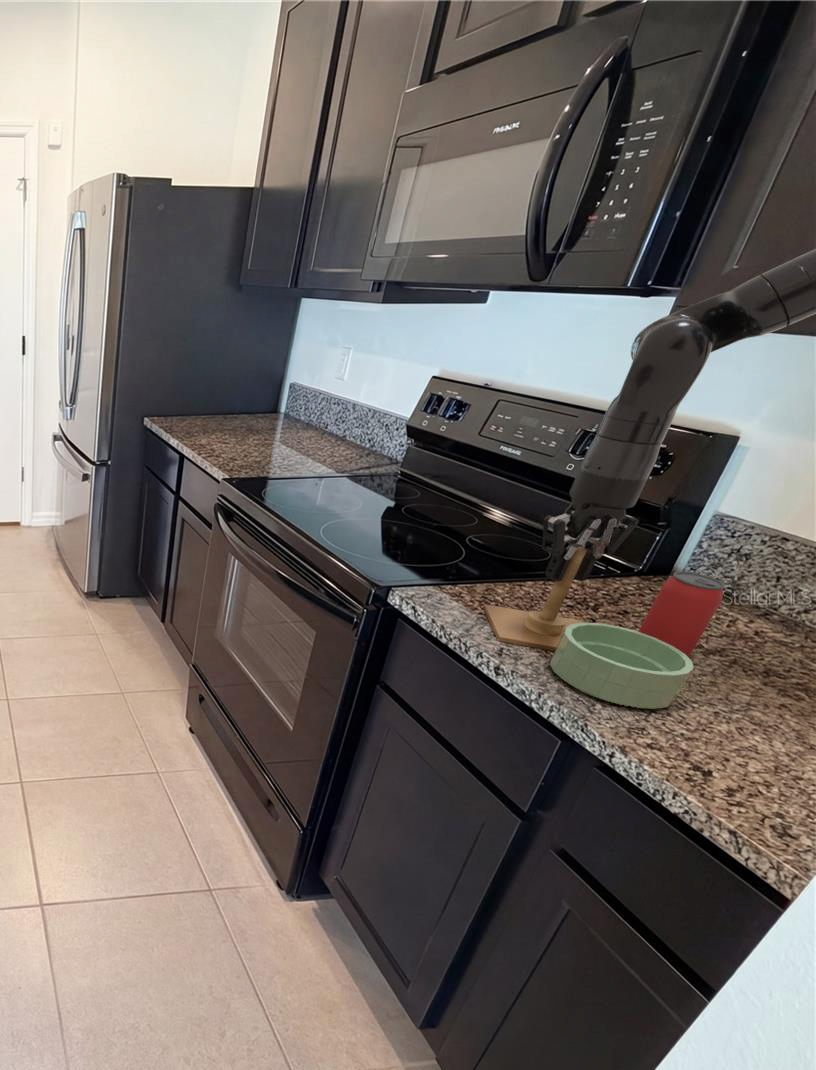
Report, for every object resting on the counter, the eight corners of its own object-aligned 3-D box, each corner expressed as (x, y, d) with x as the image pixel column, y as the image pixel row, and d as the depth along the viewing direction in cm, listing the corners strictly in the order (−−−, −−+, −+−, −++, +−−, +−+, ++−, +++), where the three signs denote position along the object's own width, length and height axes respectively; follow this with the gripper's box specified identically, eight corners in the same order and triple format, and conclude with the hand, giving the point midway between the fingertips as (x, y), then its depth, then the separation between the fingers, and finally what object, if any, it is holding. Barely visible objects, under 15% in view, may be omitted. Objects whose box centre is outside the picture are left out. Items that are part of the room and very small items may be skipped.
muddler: (556, 624, 105) (592, 545, 99) (564, 638, 101) (603, 556, 95) (521, 618, 107) (554, 540, 101) (528, 632, 103) (564, 551, 97)
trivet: (581, 625, 107) (583, 620, 107) (607, 661, 97) (609, 656, 97) (482, 608, 112) (484, 604, 112) (497, 641, 102) (499, 636, 102)
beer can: (681, 664, 97) (722, 593, 91) (626, 645, 102) (662, 576, 96) (695, 652, 100) (736, 582, 95) (641, 633, 105) (677, 566, 99)
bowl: (647, 669, 96) (667, 634, 93) (690, 722, 84) (714, 684, 82) (537, 649, 100) (553, 615, 97) (564, 697, 89) (582, 660, 86)
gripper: (593, 478, 88) (544, 591, 96) (684, 476, 90) (628, 588, 98) (547, 463, 95) (504, 570, 103) (633, 461, 96) (584, 567, 104)
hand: (565, 578), depth 100 cm, fingers open, 3 cm apart
